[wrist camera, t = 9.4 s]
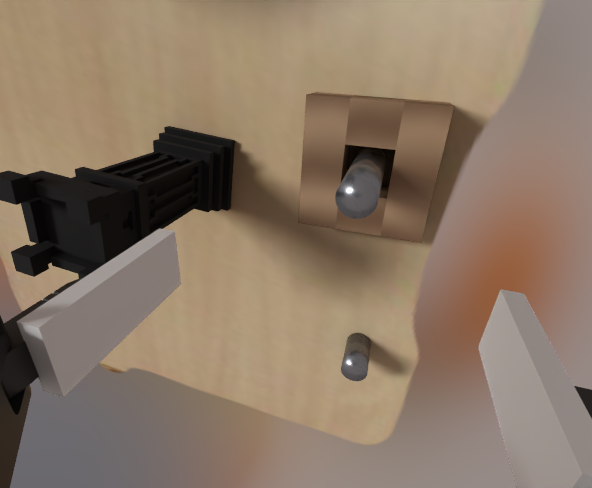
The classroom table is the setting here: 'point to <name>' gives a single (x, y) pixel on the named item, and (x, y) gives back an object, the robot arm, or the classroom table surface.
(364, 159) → the long pin
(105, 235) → the chess piece
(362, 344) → the short pin
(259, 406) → the classroom table surface
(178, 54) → the classroom table surface
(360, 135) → the hole block
